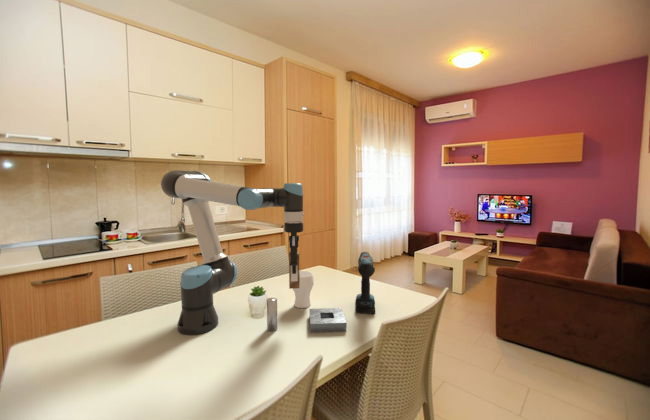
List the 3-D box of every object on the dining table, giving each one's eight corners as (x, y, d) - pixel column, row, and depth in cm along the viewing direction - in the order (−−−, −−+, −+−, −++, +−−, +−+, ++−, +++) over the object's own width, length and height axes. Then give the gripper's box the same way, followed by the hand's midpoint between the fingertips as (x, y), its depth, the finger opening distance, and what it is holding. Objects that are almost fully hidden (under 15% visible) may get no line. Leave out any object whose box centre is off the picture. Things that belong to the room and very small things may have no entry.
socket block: (310, 332, 115) (310, 323, 114) (309, 316, 128) (309, 308, 128) (346, 331, 116) (346, 322, 115) (341, 315, 130) (341, 307, 129)
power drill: (372, 298, 149) (373, 249, 147) (376, 318, 127) (377, 261, 125) (355, 297, 150) (355, 249, 148) (355, 317, 127) (356, 260, 125)
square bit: (289, 288, 118) (288, 254, 117) (289, 285, 122) (289, 251, 121) (299, 288, 119) (299, 253, 118) (299, 284, 123) (299, 251, 122)
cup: (303, 311, 134) (303, 279, 132) (286, 305, 140) (286, 274, 139) (318, 304, 142) (318, 273, 141) (301, 298, 149) (301, 269, 147)
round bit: (266, 331, 115) (266, 301, 114) (267, 326, 119) (267, 297, 118) (276, 331, 116) (276, 301, 115) (277, 326, 120) (277, 297, 119)
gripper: (303, 224, 110) (303, 286, 112) (303, 219, 127) (303, 272, 129) (282, 224, 110) (283, 286, 112) (285, 219, 127) (286, 273, 129)
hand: (294, 279), depth 120 cm, fingers closed on square bit, 4 cm apart
